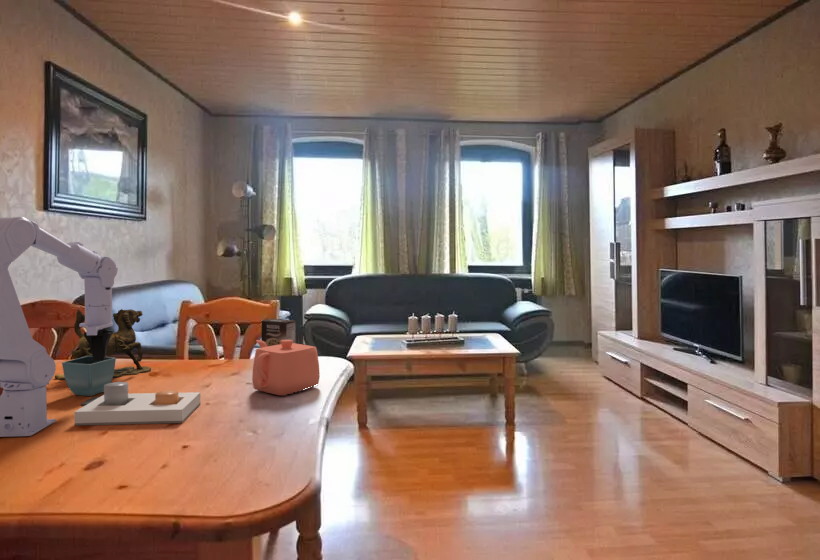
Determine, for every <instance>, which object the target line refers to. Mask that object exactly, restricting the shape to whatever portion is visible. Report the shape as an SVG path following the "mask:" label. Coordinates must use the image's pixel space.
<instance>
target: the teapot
mask: <svg viewBox="0 0 820 560" xmlns="http://www.w3.org/2000/svg"><path fill="white" fill-rule="evenodd" d="M255 342H257V344H258V345H259V348H258V347H257V348H256V349H255V353H254V358H253V366H252V376H251V378H252V379H251V380H252V386H253V389H254V390H255V391H256V390H257V391H260V392H264V393H267V394H268V393H269V394H272V395H277V396H287V395H286V394H290V393H291V394H294V393H293V392H295V393H298V392H297V391H299V392H301V391H300V390H303V389H305V388H308V387H311V386H314V385H316V384H318V385H319V383H320V375H321V373H320V361H319V355H318V350H317V346H313V345H308V344H300V343H296V342H295V343H293V340H281V341H280V342H281V344H280V345H273V346H268V347H267V345H266V343H265V342H264V341H262V339H256V340H255ZM303 391H304V390H303ZM291 394H290V395H291Z"/></svg>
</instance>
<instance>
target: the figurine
mask: <svg viewBox="0 0 820 560" xmlns="http://www.w3.org/2000/svg"><path fill="white" fill-rule="evenodd" d="M117 311H118V312H116V313H115V312H112V320H113V322H115V325H116V326H117V327H118V329H117V331H114V332H113V334H112V335H111V337H110V340H109V343H108V347H107V352H106V357H111V356H112V355H114V354H116V353H117V354H126V355H128V357H129V358H131V360H132V362H133V364H134V365H135V366H133V365H131V366H130V365H129V366H125V367H120V368H119V367H118V368H115V369H114V375H113V379H115V378H116V379H117V378H120V377H123V376H135V375H139V374H143V373H144V374H145V373H149V372H151V371H152V367H150V366H144V365H143V366H142V365H141V364H140V362H142V360H143V354H144V353H143V349H142V343H141V342H138V341H136V340H137V336H136V332H135V330H134V328H133V326H134V325H135V323H137V324H138V323H140V321H141V318H140V317H142V316H143V315H144V314H143V312H142V310H134V309H123V308H121V309H120V310H117ZM75 316H76V319H75V321H74V325H73V329H74V332H75V334H76V336H77V337H79V339H78V347H79V349H78V350H72V351H71V354H72V356H73V358H74V359H78V358H82V357H86V356H92V353H91V349H90V346H89V343H88V341H87V340H86V338H85V337H84V332H82V331H81V328H82V327H79V324H81V323H85V313H83V312H82V311H81V309H79V308H77V311H76V312H75ZM134 349H137V355H138V356H137V357H135V354H134V353H133V352H132V351H134ZM135 367H136V368H135ZM54 379H55V380H58V381H59V380H60V381H65V377H64V374H59V373H58V374H54Z"/></svg>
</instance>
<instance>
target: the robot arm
mask: <svg viewBox="0 0 820 560" xmlns="http://www.w3.org/2000/svg"><path fill="white" fill-rule="evenodd" d="M31 247H33V248H36V249H38V250H40V251H43V252H45V253H46V254H47V253H48V254H50V255H53V256H55V257H56V258H57V259H56V260H57V262H58V263H59V264H60V265H62V266H63V267H66V268H67V269H70V270H72V271H75V272H76V273H77V274H78V275H79V277H80V278H81V280H82V279H83V280H84V284H83V286H84V315H85V321H84V322H83V323H81V324H79V327H81V328H85V329H86V331H85V332H83V334H84V337H85V338H86V340H87V341H88V343H89V346H90V349H91V353H92V356H93V360H94V361H103V360H104V359H105V357H107V355H106V352H107V347H108V343H109V340H110V337H111V335H112V334H113V333H114V329H106V328H111V327H113V326H114V321H113V288H112V287H114V285H115V278H116V276H117V274H118V267H117V265H116V264H117V263H115V261H114V260H113V259H112V258H111V257H108V256H100V254H98V252H97V251H94V250H90V249H88V248H86V247H84V244H83V243H82V242H80V241H71V242H67V243H66V242H64V241H63V240H61V239H60V238H58V237H56V236H55V235H53V234H51V233H50V232H48V231H46V230H45V229H43V228H41V227H40V226H39V224H38V223H37V222H35V221H32V220H30V219H28V218H26V217H23V216H14V217H2V216H1V217H0V388H1V389H3V390H2V393H1V394H0V438H2V437H4V438H5V437H31V436H33V435H36V434H37V433H38V432H40V431H42V430H44V429H45V428H47V427H48V426H50V425H52V424H54V423H56V422H57V418H48V412H47V411H48V408H47V407H48V406H47V386H48V385H50V382H51V380H52V379H53V378H54V377H55V375H56V367H57V366H56V362H55V360H54V359H53V357H52V356H50V355H49V354H48V351H47V349H46V347H45V346H43V345H42V344H40V343H39V342H38V341H36V340H35V339H34V338H33V337H32V334H31V330H30V328H29V325H28V322H27V320H26V316H25V314H24V311H23V308H22V306H21V303H20V301H19V300H20V299H19V296H18V294H17V291H16V289H15V285H14V283H13V279H12V277H11V275H10V272H9V267H10V265H11V264H12V263H13V262H15V261H16V260H17V259H18V258H19V257H21V255H23V254H24V253H25V252H26V251H28V249H29V248H31Z"/></svg>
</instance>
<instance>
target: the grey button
mask: <svg viewBox="0 0 820 560" xmlns="http://www.w3.org/2000/svg"><path fill="white" fill-rule="evenodd" d="M128 394H129V382H125V381H116V382H111V383H108V384H105V385H104V392H103V395H104V404H106V405H117V404H123V403H126V402H128Z"/></svg>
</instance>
